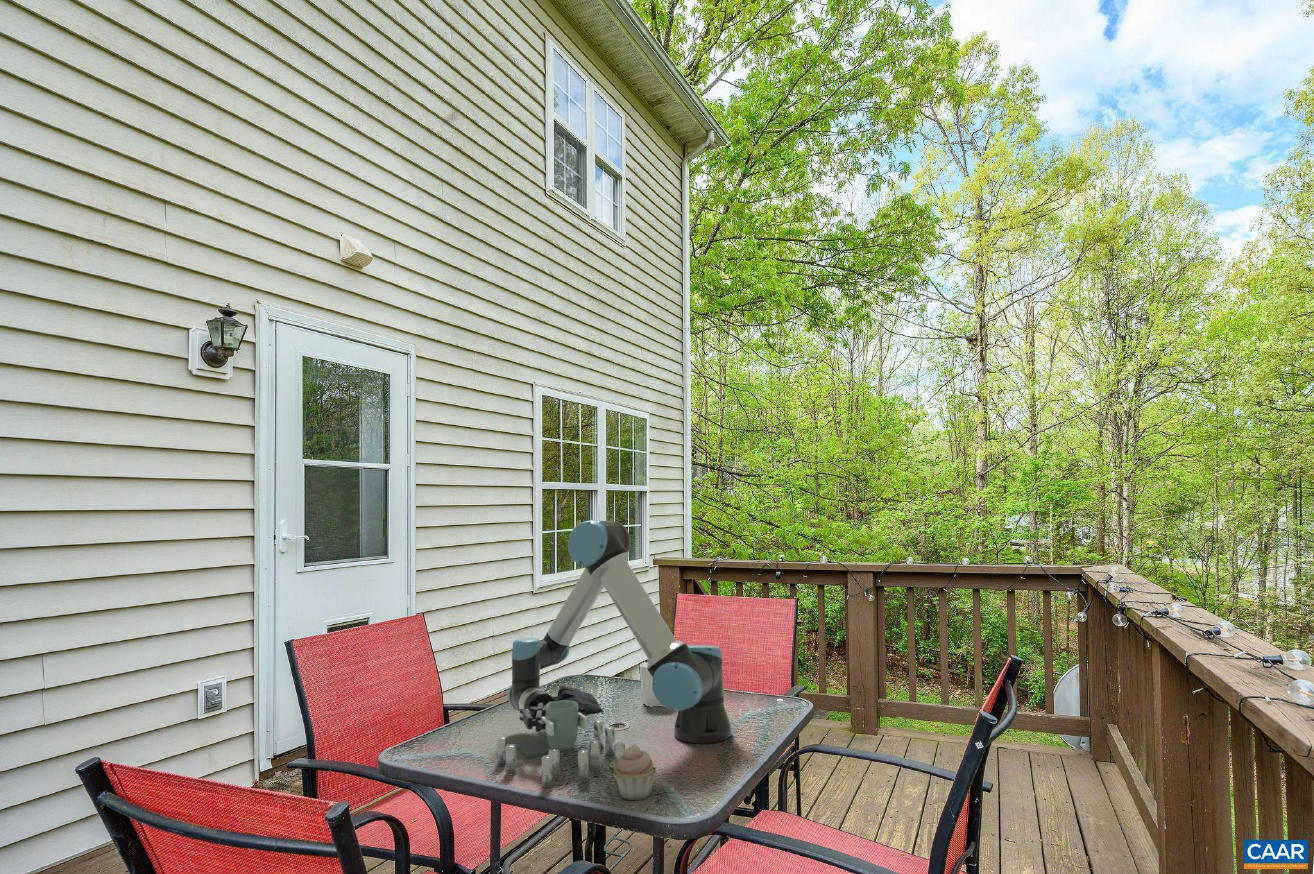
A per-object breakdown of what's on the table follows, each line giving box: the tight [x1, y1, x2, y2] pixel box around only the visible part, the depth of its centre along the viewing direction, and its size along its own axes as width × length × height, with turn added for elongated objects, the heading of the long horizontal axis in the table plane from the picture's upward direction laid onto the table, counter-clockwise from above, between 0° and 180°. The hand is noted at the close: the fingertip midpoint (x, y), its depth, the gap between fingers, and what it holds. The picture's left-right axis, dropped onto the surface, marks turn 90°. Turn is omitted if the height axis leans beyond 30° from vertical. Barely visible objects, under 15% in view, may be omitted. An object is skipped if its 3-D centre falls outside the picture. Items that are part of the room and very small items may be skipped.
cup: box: [545, 700, 579, 751], centre depth 163 cm, size 8×8×10 cm
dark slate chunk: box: [552, 685, 604, 714], centre depth 214 cm, size 15×22×5 cm
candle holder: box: [639, 661, 662, 706], centre depth 214 cm, size 10×10×12 cm
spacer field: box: [496, 719, 629, 789], centre depth 160 cm, size 22×32×6 cm
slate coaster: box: [512, 736, 574, 759], centre depth 174 cm, size 12×12×1 cm
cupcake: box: [612, 743, 658, 801], centre depth 142 cm, size 9×9×10 cm
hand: (569, 726), depth 159 cm, fingers closed on cup, 8 cm apart
